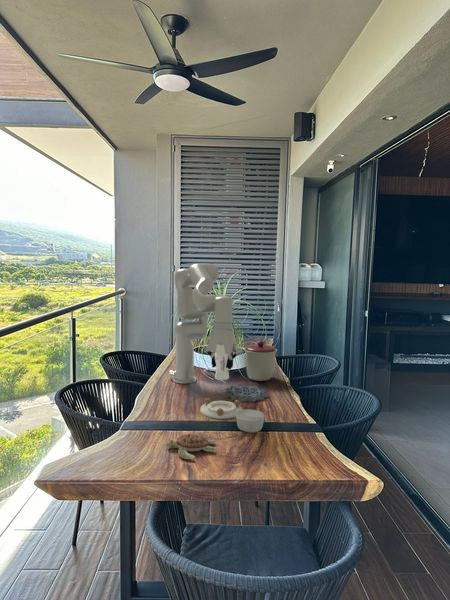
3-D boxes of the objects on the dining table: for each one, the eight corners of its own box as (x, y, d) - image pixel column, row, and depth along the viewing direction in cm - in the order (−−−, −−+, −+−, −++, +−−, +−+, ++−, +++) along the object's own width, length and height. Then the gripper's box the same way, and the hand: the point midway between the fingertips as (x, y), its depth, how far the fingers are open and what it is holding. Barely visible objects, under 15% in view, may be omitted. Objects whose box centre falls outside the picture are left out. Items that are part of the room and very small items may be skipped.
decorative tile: (273, 393, 194) (273, 388, 194) (257, 405, 176) (257, 400, 176) (236, 386, 203) (236, 382, 203) (218, 397, 185) (218, 392, 185)
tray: (193, 415, 163) (193, 406, 162) (209, 401, 180) (209, 392, 179) (234, 421, 157) (235, 412, 156) (247, 406, 174) (247, 398, 173)
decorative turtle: (168, 437, 142) (168, 424, 142) (214, 437, 143) (214, 424, 143) (164, 463, 124) (164, 447, 124) (216, 462, 125) (216, 447, 125)
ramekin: (244, 436, 144) (244, 422, 144) (230, 424, 154) (230, 411, 154) (270, 430, 149) (270, 417, 149) (254, 420, 159) (254, 407, 159)
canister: (281, 377, 220) (282, 340, 218) (266, 385, 205) (268, 345, 203) (252, 372, 230) (254, 336, 228) (237, 379, 214) (238, 341, 212)
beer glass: (232, 377, 169) (233, 342, 168) (225, 381, 163) (226, 345, 161) (218, 374, 172) (218, 341, 170) (210, 379, 166) (211, 343, 164)
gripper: (200, 325, 165) (199, 367, 166) (240, 328, 159) (239, 372, 160) (207, 323, 172) (206, 363, 173) (245, 326, 166) (244, 367, 167)
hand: (222, 367), depth 167 cm, fingers closed on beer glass, 6 cm apart
